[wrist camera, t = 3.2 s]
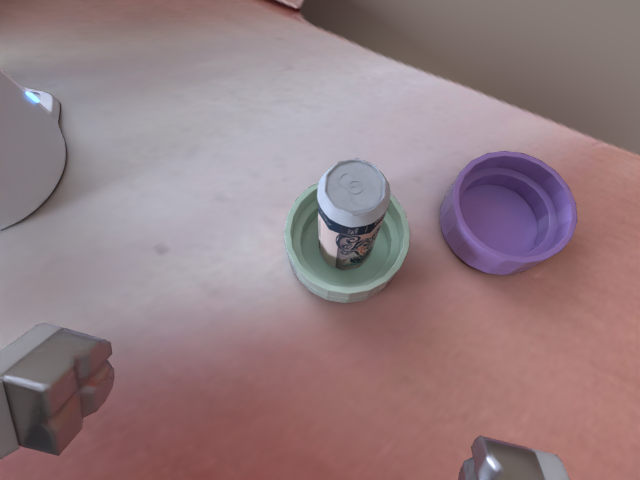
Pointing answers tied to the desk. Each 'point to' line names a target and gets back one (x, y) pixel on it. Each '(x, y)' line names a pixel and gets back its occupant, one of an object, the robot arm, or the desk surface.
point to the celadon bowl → (337, 282)
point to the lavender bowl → (507, 213)
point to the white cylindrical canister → (350, 212)
